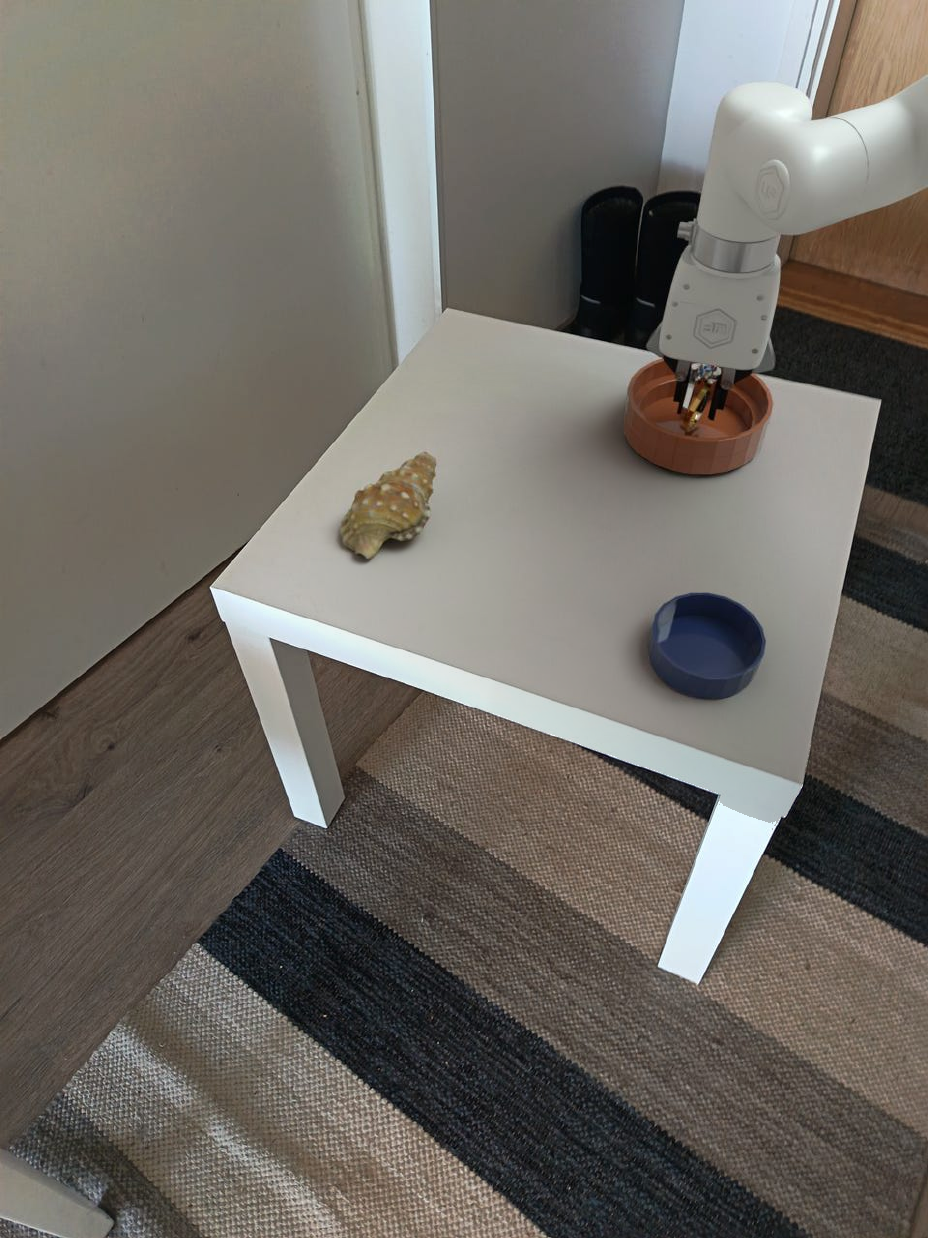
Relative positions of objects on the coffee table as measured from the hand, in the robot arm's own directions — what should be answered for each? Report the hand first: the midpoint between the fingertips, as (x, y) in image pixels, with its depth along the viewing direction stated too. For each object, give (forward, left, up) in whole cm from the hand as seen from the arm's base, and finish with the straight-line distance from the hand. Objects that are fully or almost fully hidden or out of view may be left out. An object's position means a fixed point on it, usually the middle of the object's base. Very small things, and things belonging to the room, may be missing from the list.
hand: (697, 408), depth 92 cm
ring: (0, 0, -3) cm, 3 cm away
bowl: (0, 0, -3) cm, 3 cm away
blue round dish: (-6, +30, -3) cm, 31 cm away
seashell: (+26, +23, -4) cm, 35 cm away
